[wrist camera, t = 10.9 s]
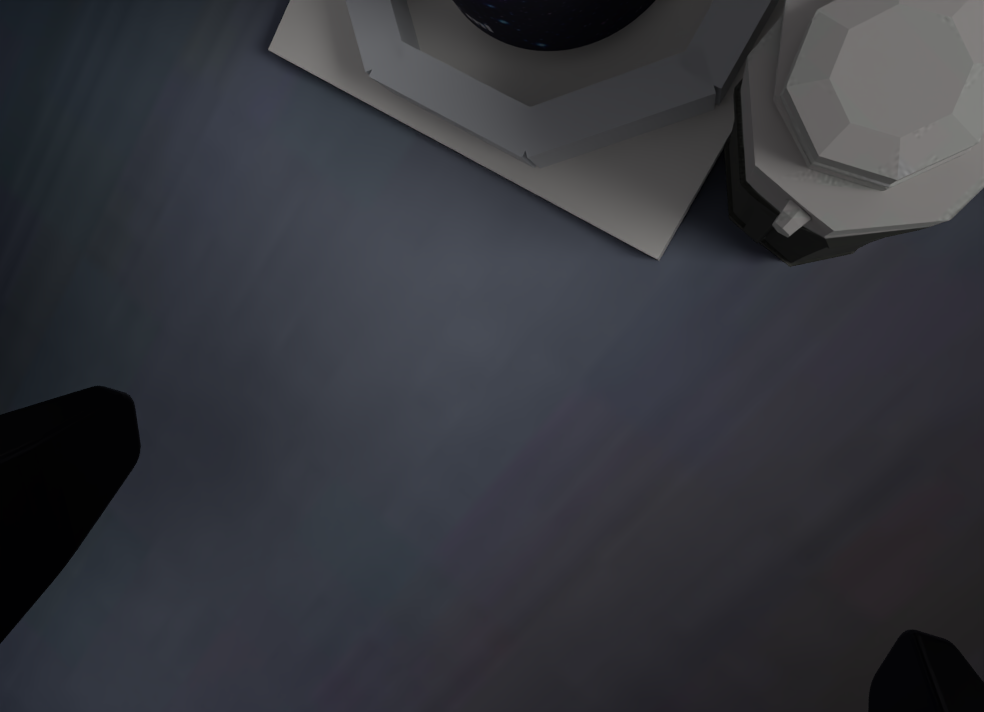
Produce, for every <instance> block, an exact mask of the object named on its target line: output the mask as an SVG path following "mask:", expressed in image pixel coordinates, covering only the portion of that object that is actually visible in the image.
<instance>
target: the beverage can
mask: <svg viewBox="0 0 984 712" xmlns="http://www.w3.org/2000/svg"><path fill="white" fill-rule="evenodd" d="M452 1H453V2H454V3H455V5H456V6H457V7H458V8H459V10H460V11H461V12H462V13H463V14H464V15H465V16H466V17H467V18H468V20H470V21H471V22H472V23H473V24H474V25H475V26H476V27H478V28H479V29H480V30H482V31H483V32H485V33H486V34H488V35H489V36H491V37H493V38H495V39H497V40H499V41H501V42H504V43H506V44H509V45H512V46H515V47H518V48H523V49H527V50H535V51H561V50H569V49H574V48H579V47H582V46H586V45H589V44H592V43H595V42H598V41H600V40H602V39H604V38H607V37H609V36H611V35H612V34H614V33H616V32H618V31H619V30H621V29H623V28H624V27H626V26H627V25H629V24H630V23H631V22H633V21H634V20H635V19H637V18H638V17H639V16H640V15H641V14H642V13H643V12H645V11H646V10H647V9H648V8H649V7H650V6H651V5H652V4H653V3H654V1H655V0H452Z"/></svg>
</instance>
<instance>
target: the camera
mask: <svg viewBox="0 0 984 712" xmlns="http://www.w3.org/2000/svg"><path fill="white" fill-rule="evenodd" d="M733 100H734V118H735V119H734V123H733V128H732V133H731V137H730V138H729V139H728V141H727V142H726V143H725V145H724V153H725V167H726V182H727V197H728V212H729V219H730V220H731V221H732V222H734V223H735V224H736V225H737V226H738V227H739V228H740V229H741V230H743V231H744V232H745V233H746V234H747V235H748V236H749V237H751V238H752V239H753V240H754V241H755V242H756V243H758V242H759V243H760V244H762V245H763V246H764V247H765V248H767V249H768V250H769V251H771V252H772V253H773V254H774V255H776V256H777V257H778V258H779V259H781V260H782V261H783V262H785V263H786V264H787V265H788V266H790V267H791V266H796V265H801V264H805V263H810V262H815V261H819V260H824V259H829V258H834V257H838V256H843V255H848V254H853V253H854V252H855V251H856V250H857V249H858V248H860V247H862V246H864V245H866V244H868V243H870V242H873V241H876V240H879V239H882V238H884V237H889V236H893V235H898V234H903V233H908V232H912V231H917V230H921V229H924V228H927V227H930V226H933V225H937V224H940V223H943V222H946V221H949V220H951V219H952V218H953V217H954V216H955V215H956V214H957V213H958V212H959V211H960V210H961V209H962V208H963V207H964V206H965V205H966V204H967V203H968V202H969V201H970V200H971V199H972V198H973V197H975V196H976V195H977V194H978V193H979V192H980V191H981V190H982V189H983V188H984V0H785V4H784V12H783V15H782V16H781V17H780V18H779V20H778V21H777V22H776V23H775V24H774V25H773V27H772V28H771V29H770V30H769V31H768V32H767V34H766V35H765V36H764V37H763V38H762V39H761V41H760V42H759V43H758V44H757V45H756V47H755V48H754V49H753V50H752V51H751V52H750V54H749V55H748V56H747V60H746V65H745V70H744V75H743V78H742V79H741V81H740V82H739V83H738V84H737V85H736V86H735V88H734V94H733Z"/></svg>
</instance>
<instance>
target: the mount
mask: <svg viewBox="0 0 984 712" xmlns="http://www.w3.org/2000/svg"><path fill="white" fill-rule="evenodd" d="M784 4H785V0H655V1H654V3H653V4H652V5H651V6H650V7H649V8H648V9H647V10H646V11H645V12H643V13H642V14H641V15H640V16H639V17H638V18H637V19H635V20H634V21H633V22H631V23H630V24H629V25H627V26H626V27H624V28H623V29H621V30H619V31H618V32H616V33H614V34H612V35H611V36H609V37H607V38H604V39H602V40H600V41H598V42H595V43H592V44H589V45H586V46H582V47H579V48H574V49H569V50H561V51H535V50H527V49H523V48H518V47H515V46H512V45H509V44H506V43H504V42H501V41H499V40H497V39H495V38H493V37H491V36H489V35H488V34H486V33H485V32H483V31H482V30H480V29H479V28H478V27H476V26H475V25H474V24H473V23H472V22H471V21H470V20H468V18H467V17H466V16H465V15H464V14H463V13H462V12H461V11H460V10H459V8H458V7H457V6H456V5H455V3H454V2H453V1H452V0H290V2H289V4H288V6H287V8H286V11H285V13H284V15H283V17H282V20H281V22H280V24H279V26H278V29H277V31H276V33H275V35H274V38H273V40H272V42H271V44H270V47H269V49H268V50H269V51H271V52H273V53H274V54H276V55H278V56H280V57H281V58H283V59H285V60H287V61H289V62H291V63H293V64H294V65H296V66H298V67H300V68H302V69H304V70H306V71H307V72H309V73H311V74H313V75H315V76H317V77H319V78H320V79H322V80H324V81H326V82H328V83H330V84H332V85H333V86H335V87H337V88H339V89H341V90H343V91H345V92H346V93H348V94H350V95H352V96H354V97H356V98H358V99H359V100H361V101H363V102H365V103H367V104H369V105H371V106H372V107H374V108H376V109H378V110H380V111H382V112H384V113H385V114H387V115H389V116H391V117H393V118H395V119H396V120H398V121H400V122H402V123H404V124H406V125H408V126H409V127H411V128H413V129H415V130H417V131H419V132H421V133H422V134H424V135H426V136H428V137H430V138H432V139H434V140H435V141H437V142H439V143H441V144H443V145H445V146H447V147H448V148H450V149H452V150H454V151H456V152H458V153H460V154H461V155H463V156H465V157H467V158H469V159H471V160H473V161H474V162H476V163H478V164H480V165H482V166H484V167H486V168H487V169H489V170H491V171H493V172H495V173H497V174H499V175H500V176H502V177H504V178H506V179H508V180H510V181H512V182H513V183H515V184H517V185H519V186H521V187H523V188H525V189H526V190H528V191H530V192H532V193H534V194H536V195H538V196H539V197H541V198H543V199H545V200H547V201H549V202H551V203H552V204H554V205H556V206H558V207H560V208H562V209H564V210H565V211H567V212H569V213H571V214H573V215H575V216H577V217H578V218H580V219H582V220H584V221H586V222H588V223H590V224H591V225H593V226H595V227H597V228H599V229H601V230H603V231H604V232H606V233H608V234H610V235H612V236H614V237H616V238H617V239H619V240H621V241H623V242H625V243H627V244H629V245H630V246H632V247H634V248H636V249H638V250H640V251H642V252H643V253H645V254H647V255H649V256H651V257H653V258H655V259H656V260H658V261H659V260H660V258H661V257H662V255H663V253H664V251H665V250H666V248H667V246H668V244H669V243H670V241H671V239H672V237H673V236H674V234H675V232H676V231H677V229H678V227H679V225H680V224H681V222H682V220H683V218H684V217H685V215H686V213H687V211H688V210H689V208H690V206H691V204H692V203H693V201H694V199H695V197H696V196H697V194H698V192H699V190H700V189H701V187H702V185H703V183H704V182H705V180H706V178H707V177H708V175H709V173H710V171H711V170H712V168H713V166H714V164H715V163H716V161H717V159H718V157H719V156H720V154H721V152H722V150H723V149H724V145H725V143H726V142H727V141H728V139H729V138H730V136H731V133H732V128H733V123H734V119H735V118H734V100H733V94H734V88H735V86H736V85H737V84H738V83H739V82H740V81H741V79H742V78H743V75H744V70H745V65H746V60H747V56H748V55H749V54H750V52H751V51H752V50H753V49H754V48H755V47H756V45H757V44H758V43H759V42H760V41H761V39H762V38H763V37H764V36H765V35H766V34H767V32H768V31H769V30H770V29H771V28H772V27H773V25H774V24H775V23H776V22H777V21H778V20H779V18H780V17H781V16H782V15H783V12H784Z"/></svg>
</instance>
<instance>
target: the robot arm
mask: <svg viewBox="0 0 984 712" xmlns="http://www.w3.org/2000/svg"><path fill="white" fill-rule="evenodd" d="M140 448H141V444H140V437H139V430H138V424H137V417H136V410H135V404H134V401H133V399H132V398H131V397H130V395H128V394H127V393H124V392H121V391H118V390H114V389H111V388H108V387H104V386H94V387H90V388H87V389H83V390H80V391H77V392H74V393H70V394H67V395H64V396H61V397H57V398H54V399H51V400H47V401H44V402H41V403H38V404H34V405H31V406H28V407H25V408H21V409H18V410H15V411H11V412H8V413H5V414H2V415H0V643H1V642H2V641H3V640H4V639H5V638H6V636H7V635H8V634H9V633H10V632H11V630H12V629H13V628H14V627H15V626H16V625H17V623H18V622H19V621H20V620H21V619H22V617H23V616H24V615H25V614H26V613H27V612H28V610H29V609H30V608H31V607H32V606H33V604H34V603H35V602H36V601H37V600H38V598H39V597H40V596H41V595H42V594H43V593H44V591H45V590H46V589H47V588H48V587H49V585H50V584H51V583H52V582H53V581H54V579H55V578H56V577H57V576H58V574H59V573H60V572H61V571H62V569H63V568H64V567H65V566H66V564H67V563H68V562H69V560H70V559H71V557H72V556H73V555H74V553H75V552H76V551H77V549H78V548H79V546H80V545H81V543H82V542H83V541H84V539H85V538H86V536H87V535H88V533H89V532H90V530H91V529H92V527H93V526H94V525H95V523H96V522H97V520H98V519H99V517H100V516H101V514H102V513H103V511H104V510H105V509H106V507H107V506H108V504H109V503H110V501H111V500H112V498H113V497H114V496H115V494H116V493H117V491H118V490H119V488H120V487H121V485H122V484H123V482H124V481H125V480H126V478H127V477H128V475H129V474H130V472H131V471H132V469H133V468H134V466H135V464H136V463H137V460H138V458H139V454H140ZM868 712H984V682H983V681H982V680H981V678H980V677H979V676H978V675H977V673H976V672H975V671H974V669H973V668H972V667H971V666H970V664H969V663H968V662H967V660H966V659H965V658H964V656H963V655H962V654H961V653H960V651H959V650H958V649H957V648H956V647H955V646H954V645H953V644H952V643H951V642H950V641H948V640H946V639H944V638H940V637H937V636H934V635H930V634H927V633H924V632H920V631H917V630H906V631H905V632H903V633H902V634H901V635H900V636H899V638H898V639H897V641H896V642H895V644H894V646H893V647H892V649H891V650H890V652H889V653H888V655H887V657H886V658H885V660H884V661H883V663H882V664H881V666H880V667H879V669H878V671H877V672H876V674H875V676H874V678H873V680H872V683H871V687H870V692H869V710H868Z"/></svg>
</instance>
